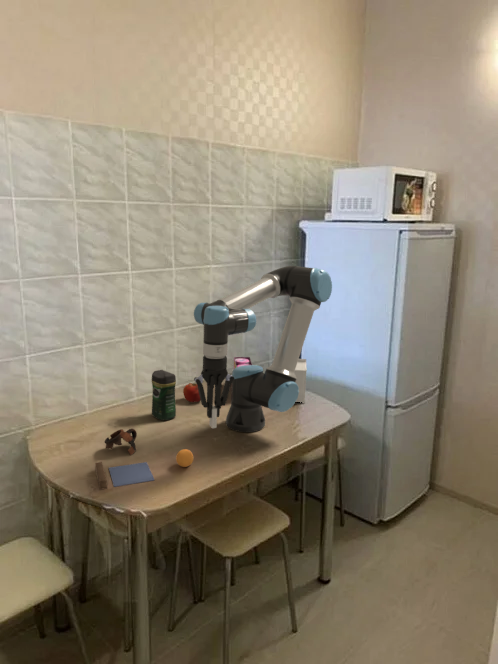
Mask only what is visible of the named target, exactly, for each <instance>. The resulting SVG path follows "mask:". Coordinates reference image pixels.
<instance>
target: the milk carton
mask: <svg viewBox="0 0 498 664" xmlns="http://www.w3.org/2000/svg"><path fill="white" fill-rule="evenodd" d="M307 368H308V367H307V358H299V359H298V362H297V365H296V368H295V371H294V374H295V376H296V378H297V379H296V382H295V383H296V384H297V385H298V387H299V389H298V391H299V394H298V398H297V400H296V402H300V403H299V404H304V403H305V401H306V400H305V399H306V386H307ZM301 402H302V403H301ZM303 402H304V403H303Z"/></svg>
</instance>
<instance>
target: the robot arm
mask: <svg viewBox="0 0 498 664" xmlns="http://www.w3.org/2000/svg"><path fill="white" fill-rule="evenodd" d="M332 283H333V282H332V279H331V276H330V274H329V273H328V271H326V270H325V269H321V268H317V267H306V266H299V265H287V266H282V267H280V268H276V269H274V270H271V271H269V272H267V273H265V274H263V275H262V276H261V278H260V279H258V280H256V281H254V282H253V283H251V284H249V285H246V286H245V287H242V288H239V289H238V290H236V291H234V292H231V293H230V294H227V295H226V296H224V297H221V298H219V299H218V300H215V301H212V302H210V303H209V302H200V303H198V304H197V305H196V306H195V307H194V310H193V316H194V317H193V318H194V320H195V322H196V323H198V324H200V325H202V326H203V343H202V355H203V356H202V370H201V373H200V375H199V376H198V377H197V376H196V377H194V378H193V381H194V382H195V384H197V386H198V391H199V395H200V403H201V405H202V406H203V408H205V409H206V416H207V418H208V419H209V427H210V428H211V429H217V425H218V423H217V421H218V420H217V418H219V417H220V415H221V414H220V412H221V411H220V410H221V408H222V407H223V406H226V404H227V401H228V397H229V394H231V395H230V400H231V402H230V406H229V409H228V412H227V415H226V418H225V426H226V427H227V428H228V429H230V430H233V431H235V432H240V433H241V432H242V433H252V432H258V431H261V430H263V429H264V428H265V427H266V417H265V414H264V411H263V407H264V408H267V409H269V410H271V411H275V412H276V411H277V412H279V413H283V412H287V411H290V409H291V408H292V407H294V405H295V404H296V403H295V402H296V400H297V398H298V394H299V391H298V389H299V387H298V385H297V384H296V383H295V382H296V379H297V378H296V376H295V374H294V371H295V368H296V365H297V362H298V359H300V356H301V354H302V350H303V346H304V343H305V340H306V338H307V334H308V331H309V328H310V325H311V323H312V319H313V316H314V312H315V311H317V310H319V309H320V307H321V304H322V303H325V302H327V301H328V300H329V299H330V297H331V294H332V292H333V284H332ZM281 296H284V297H285V296H288V297H289V301H290V304H291V306H290V307H289V312H288V315H287V317H286V321H285V324H284V327H283V330H282V332H281V336H280V339H279V343H278V345H277V349H276V351H275V354H274V357H273V360H272V363H271V365H270V366H268V367H265V368H266V369H265V371H264V368H263V367H262V366H261V365H256V364H255V365H254V364H252V365H246V366H240V367H237V368H235V369H234V368H233V370H232V372H231V373H232V374H230V373H228V370H227V368H228V367H227V366H228V358H227V355H228V341H229V336H233V335H237V334H242V333H243V334H245V333H249V332H251V331H252V330H253V329H255V328H256V325H257V316H256V314H255V311H253V310H252V309H250V308H252V307H254V306H256V305H258V304H259V303H262V302H264V301H266V300H268V299H275V298H277V297H281ZM203 382H205V383H206V385H207V386H206V387H207V389H206V393H205V388H204V385H203ZM223 382H224V384H223ZM222 384H223V385H222ZM222 386H223V388H222ZM230 389H231V390H230ZM230 392H231V393H230ZM213 401H214V403H213ZM264 426H265V427H264ZM263 427H264V428H263ZM262 428H263V429H262ZM260 429H261V430H260Z"/></svg>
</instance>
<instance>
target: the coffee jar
mask: <svg viewBox="0 0 498 664" xmlns="http://www.w3.org/2000/svg"><path fill="white" fill-rule="evenodd" d="M176 383H177V378H176V374H174V373H171V372H169V371H167V370H163V369H158V370H154V371H153V372H152V373H151V387H152V401H151V416H152V417H154V418H156V419H157V420H159V421H170V420H173V419H174V418H176V416H177V411H176Z"/></svg>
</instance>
